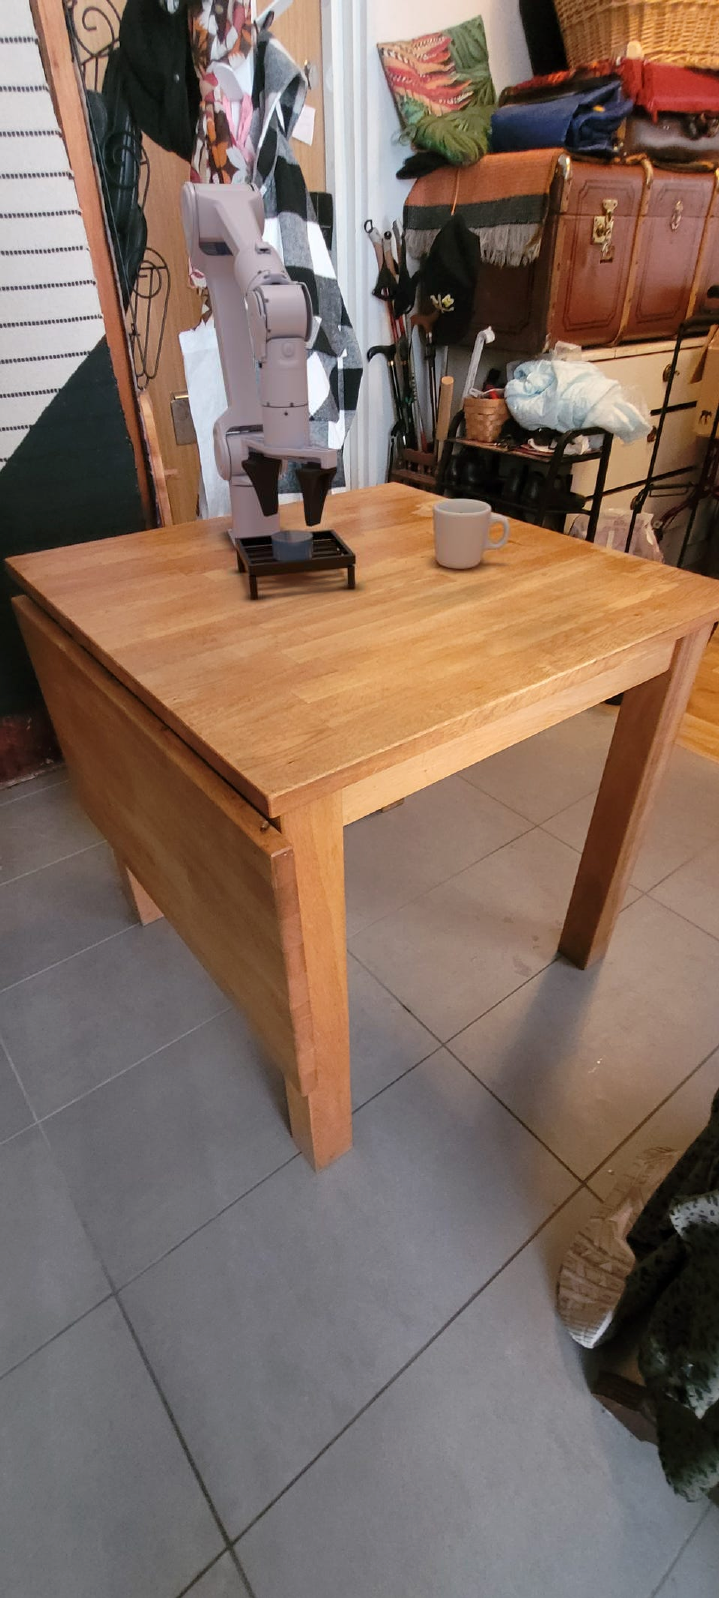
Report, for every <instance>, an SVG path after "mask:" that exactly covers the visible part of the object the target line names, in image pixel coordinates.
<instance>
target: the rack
mask: <svg viewBox="0 0 719 1598" xmlns="http://www.w3.org/2000/svg"><path fill="white" fill-rule="evenodd" d="M308 532H310V533H312V535H313V550H314V555H313V557H312V558H309V559H299V560H288V561H279V560H276V559H274V558H273V553H272V540H271V536H272V535H264V536H253V537H242V538H235V546H234V548H235V547H236V548H235V550H236V561H237V571H238V573H245V572H247V573H248V586H249V596H250V599H251V600H255V601H256V600H258V599H259V589H258V579H257V578H264V577H272V576H273V577H275V576H283V575H293V574H303V573H314V572H322V571H323V572H325V571H333V570H343V569H346V571H347V572H346V574H347V589H348V590H354V589H356V564H357V556H356V554H355V553H354V552H353V550H352V549H351V548H350V547H349V546H348V545H347V544H346V543H345V541H344V540H343V539H342V537H340V535H338V533H337V532H336V531H335V530H334V529H323V530H311V531H308ZM262 545H266V546H262ZM251 546H255V547H251Z"/></svg>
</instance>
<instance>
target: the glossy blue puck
mask: <svg viewBox="0 0 719 1598" xmlns="http://www.w3.org/2000/svg"><path fill="white" fill-rule="evenodd" d="M271 540H272V553H273V558H274V559H276V560H279V561H288V560H299V559H309V558H312V557H313V555H314V550H313V535H312V533H310V532H309V531H307V530H303V529H302V530H301V529H287V530H286V529H285V530H280V532H277V533H274V534H273V535H272V536H271Z"/></svg>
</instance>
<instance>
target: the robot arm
mask: <svg viewBox="0 0 719 1598" xmlns="http://www.w3.org/2000/svg"><path fill="white" fill-rule="evenodd" d="M180 212H181V221H182V228H183V233H184V239H185V246H186V252H187V255H188V257H189V262H190V265H191V268H194V269H195V270H197V271H198V272H200V273H202V274H203V276H204V279H205V284H206V288H207V291H208V294H209V299H210V305H211V311H212V318H213V323H214V324H213V325H214V330H215V336H216V342H217V348H218V354H219V360H220V367H221V373H222V374H221V375H222V379H223V385H224V391H225V397H226V404H227V408H226V410H225V411H224V412H223V413H222V414H221V415H220V416H219V417H218V418H217V419H216V420H215V421H214V423H213V427H212V437H213V456H214V462H215V466H216V471H217V473H218V474H219V477H221V479H222V480H223V481H227V482H228V489H229V498H230V500H229V501H230V508H231V509H230V510H231V519H232V528H229V529H227V534H228V535H229V538H230V540H231V542H232V544H233V546H234V548H235V549H236V547H235V538H242V537H253V536H264V535H273V534H274V533H277V532H280V531H281V517H280V505H279V504H280V503H279V482H280V481H281V476H282V475H284V474H285V471H286V470H287V468H288V462H294V463H300V464H306V466H303V467H299V468H296V469H294V473H295V476H296V478H297V481H298V485H299V487H300V493H301V496H302V502H303V503H302V504H303V514H304V521H305V526H306V527H310V528H311V527H314V526H318V525H320V524H321V523H322V517H323V511H324V507H325V503H326V499H327V495H328V493H329V490H330V487H331V485H332V483H333V481H334V478H335V477H336V475H337V473H338V449H336V448H333V447H327V446H325V445H321V444H319V443H316V442H314V439H313V438H311V433H310V431H311V430H310V406H309V405H310V404H309V383H308V382H309V381H308V379H309V378H308V362H307V361H308V359H307V356H308V355H307V343H309V341H310V340H311V338H312V334H313V327H314V326H313V325H314V314H313V313H314V312H313V304H312V303H313V302H312V298H311V294H310V291H309V289H308V286H307V284H306V283H305V282H302V281H299V282H298V280H292V279H291V277H290V275H289V273H288V271H287V269H286V267H285V265H284V263H283V261H282V259H281V256H280V255H279V252H278V251H277V249H276V248H275V247H274V246H273V245H272V244H270V243H269V242H268V241H264V239H263V237H264V233H265V227H266V226H265V225H266V224H265V223H266V213H265V203H264V197H263V195H262V191H261V190H260V188H258V185H257V184H256V183H255V182H249V183H248V184H247V183H246V184H245V183H198V182H197V183H194V182H192V181H185V182H184V184H183V186H182V188H181V192H180ZM246 304H247V307H246ZM255 361H257V364H258V379H259V385H258V379H257V372H256V366H255ZM262 546H266V545H262ZM251 547H255V546H251Z"/></svg>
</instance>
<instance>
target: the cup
mask: <svg viewBox="0 0 719 1598" xmlns="http://www.w3.org/2000/svg"><path fill="white" fill-rule="evenodd" d="M432 521H433V522H432V523H433V541H434V555H435V559H436V561H437V563H438V564H440V565H441V566H443V567H445V568H447V569H449V568H450V569H456V570H463V569H471V568H474V567H477V566H478V565H479V564H480V563H481V561H482V559H483V556H484V553H485V552H486V551H496V550H501V549H502V548H504V546H506V544H507V543H508V540H509V538H510V534H511V525H510V522H509V519H508V518H506V517H505V516H504V515H502V514H499V513H495V512H492V507H491V505H490V504H489V503H487V502H486V501H481V500H477V499H469V498H451V499H450V498H449V499H445V500H440V501H438V502H436V503H434V504H433V506H432ZM497 523H499V524H501V525H502V526H503V534H502V537H501V539H500V540H498V541H497V542H496V541H495V542H493V541H492V540H491V538H490V531H491V528H492V527H493V525H494V524H497Z"/></svg>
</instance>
